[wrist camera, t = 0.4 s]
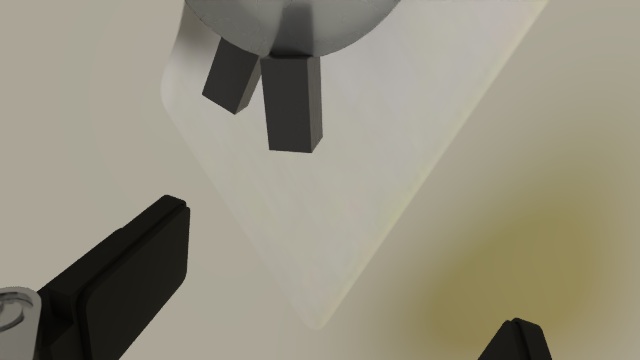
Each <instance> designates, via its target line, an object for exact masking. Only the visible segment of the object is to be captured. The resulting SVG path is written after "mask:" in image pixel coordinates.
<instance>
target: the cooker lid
mask: <svg viewBox="0 0 640 360" xmlns="http://www.w3.org/2000/svg"><path fill="white" fill-rule="evenodd" d="M185 1H186V3H187V4H188V6H189V7H190V8H191V9H192V10H193V11H194V12H195V14H196V15H197V16H198V17H199V18H200V19H201V20H202V21H203V22H204V23H205V24H206V25H207V26H209V27H210V28H211V29H212V30H213V31H214V32H216V33H217V34H218V35H220V36H221V37H223V38H224V39H226V40H227V41H228V42H230V43H232V44H234V45H236V46H238V47H240V48H241V49H243V50H246V51H249V52H251V53H254V54H257V55H260V56H264V57H263V58H261V59H260V66H261V75H262V85H263V95H264V104H265V114H266V123H267V133H268V142H269V150H276V151H289V152H303V153H312V152H313V150H314V149H315V147H316V146H317V144H318V143H319V142H320V140H321V139H322V137H323V134H322V103H321V72H320V56H324V55H327V54H330V53H333V52H336V51H338V50H341V49H343V48H345V47H346V46H348V45H350V44H352V43H354V42H356V41H357V40H359V39H360V38H362V37H363V36H364V35H366V34H367V33H369V32H370V31H371V30H373V29H374V28H375V27H376V26H377V25H378V24H379V23H380V22H381V21H382V20H384V19H385V18H386V17H387V16H388V15H389V14H390V13H391V11H392V10H393V9H394V8H395V7H396V6H397V4H398V3H399V2H400V1H401V0H185Z"/></svg>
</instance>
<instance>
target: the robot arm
mask: <svg viewBox="0 0 640 360" xmlns="http://www.w3.org/2000/svg"><path fill="white" fill-rule="evenodd" d="M189 225H190V208H189V207H186V202H185V201H184V200H181V199H178V198H176V197H173V196H170V195H164V196H162V197H161V198H160V199H159V200H157V201H156V202H155V203H153V204H152V205H151V206H150V207H148V208H147V209H146V210H144V211H143V212H142V213H141V214H139V215H138V216H137V217H136V218H134V219H133V220H132V221H130V222H129V223H128V224H127V225H125V226H124V227H123V228H120V229H118V230H116V231H115V232H113V233H112V234H111V235H109V236H108V237H107V238H106V239H104V240H103V241H102V242H100V243H99V244H98V245H96V246H95V247H94V248H93V249H91V250H90V251H89V252H88V253H86V254H85V255H84V256H82V257H81V258H80V259H78V260H77V261H76V262H75V263H73V264H72V265H71V266H69V267H68V268H67V269H66V270H64V271H63V272H62V273H60V274H59V275H58V276H57V277H55V278H54V279H53V280H51V281H50V282H49V283H47V284H46V285H45V286H44V287H42V288H41V289H40V290H38V291H37V292H35V291H33V290H31V289H29V288H24V287H6V288H1V289H0V360H119V359H120V357H121V356H122V355H123V354H124V353H125V351H126V350H127V349H128V348H129V346H130V345H131V344H132V343H133V342H134V341H135V339H136V338H137V337H138V336H139V335H140V333H141V332H142V331H143V330H144V329H145V327H146V326H147V325H148V324H149V322H150V321H151V320H152V319H153V318H154V317H155V315H156V314H157V313H158V312H159V311H160V309H161V308H162V307H163V306H164V305H165V303H166V302H167V301H168V300H169V299H170V297H171V296H172V295H173V294H174V293H175V291H176V290H177V289H178V288H179V287H180V285H181V284H182V283H183V281H184V279H185V277H186V273H187V259H188V242H189ZM478 360H552V358H551V355H550V352H549V349H548V346H547V343H546V340H545V337H544V334H543V331H542V329H541V328H540V326H539V325H537V324H533V323H531V322H528V321H525V320H522V319H520V318H514V319H513V320H512V321H509V320H507V321H505V322H504V323H503V324H502V326H501V328H500V329H499V330H498V332H497V333H496V335H495V336H494V337H493V339H492V340H491V342H490V343H489V344H488V346H487V347H486V349H485V350H484V351H483V353H482V354H481V356H480V357H479V358H478Z"/></svg>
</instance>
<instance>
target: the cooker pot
mask: <svg viewBox="0 0 640 360" xmlns="http://www.w3.org/2000/svg"><path fill="white" fill-rule="evenodd" d="M263 57H264V56H260V55H257V54H254V53H251V52H249V51H246V50H243V49H241V48H240V47H238V46H236V45H234V44H232V43H230V42H228V41H227V40H226V39H224V38H223V37H221V40H220V43H219V46H218V49H217V52H216V54H215V57H214V60H213V63H212V66H211V69H210V72H209V75H208V78H207V81H206V84H205V86H204V89H203V92H202V95H203V96H205V97H206V98H208V99H210V100H211V101H213V102H215V103H216V104H218V105H220V106H221V107H223V108H225V109H226V110H228V111H230V112H231V113H233V114H234V115H235V114H237V113H238V112H240V111H241V110H242V109H244V108H245V107H247V106H248V104H249V102H250V99H251V97H252V95H253V92H254V90H255V88H256V85H257V83H258V81H259V78H260V76H261V66H260V59H261V58H263Z"/></svg>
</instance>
